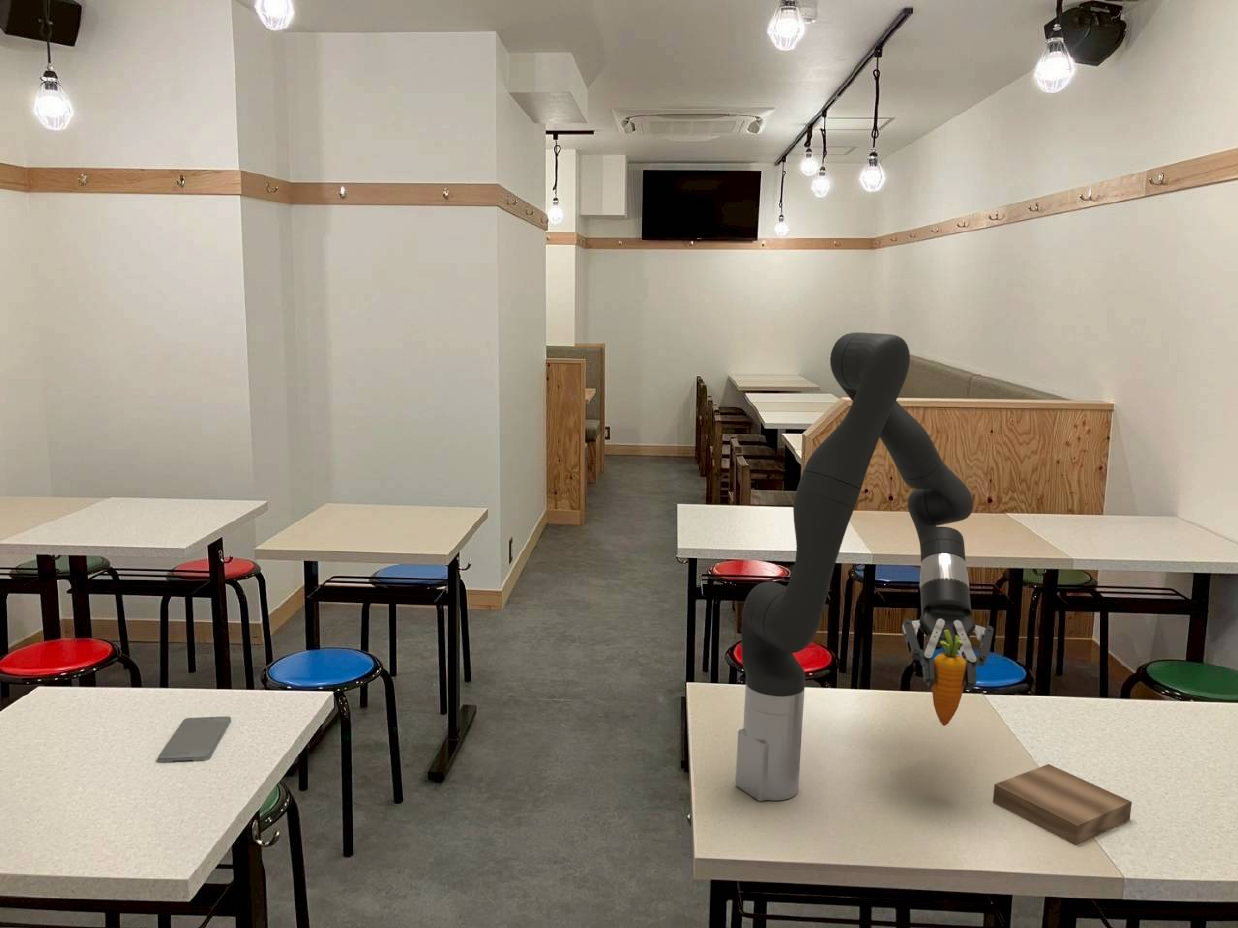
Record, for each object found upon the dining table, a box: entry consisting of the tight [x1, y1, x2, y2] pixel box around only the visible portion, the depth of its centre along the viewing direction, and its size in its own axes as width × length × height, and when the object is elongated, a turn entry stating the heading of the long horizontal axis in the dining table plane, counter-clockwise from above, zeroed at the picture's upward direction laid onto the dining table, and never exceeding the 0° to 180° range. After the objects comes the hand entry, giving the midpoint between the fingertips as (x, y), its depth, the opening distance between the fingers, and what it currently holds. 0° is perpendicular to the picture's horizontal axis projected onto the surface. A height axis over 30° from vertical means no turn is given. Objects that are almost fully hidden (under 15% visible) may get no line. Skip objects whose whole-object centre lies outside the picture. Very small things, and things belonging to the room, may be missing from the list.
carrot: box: [931, 630, 967, 727], centre depth 145 cm, size 5×5×15 cm
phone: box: [157, 715, 232, 764], centre depth 163 cm, size 8×16×1 cm, turn 9°
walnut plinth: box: [992, 763, 1133, 846], centre depth 147 cm, size 14×14×3 cm
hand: (950, 685), depth 143 cm, fingers closed on carrot, 5 cm apart
